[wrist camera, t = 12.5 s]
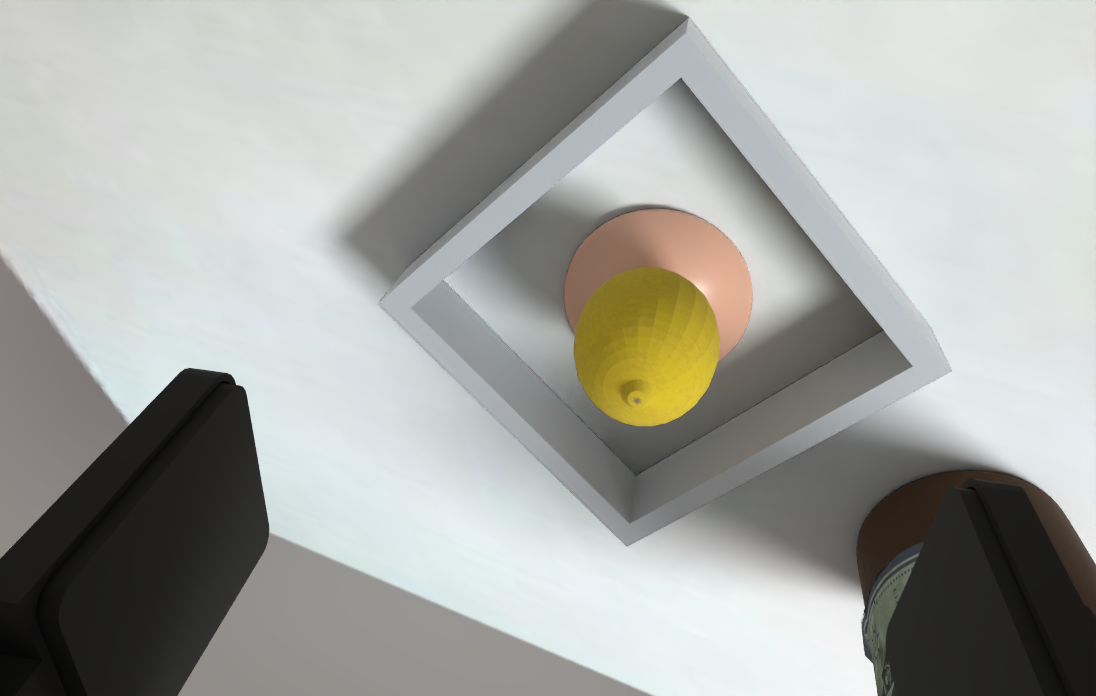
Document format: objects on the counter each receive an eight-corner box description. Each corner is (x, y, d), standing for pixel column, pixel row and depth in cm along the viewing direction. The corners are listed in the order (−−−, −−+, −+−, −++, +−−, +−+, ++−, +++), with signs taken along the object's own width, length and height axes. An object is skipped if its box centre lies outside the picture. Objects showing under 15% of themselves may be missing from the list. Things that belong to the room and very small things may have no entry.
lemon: (565, 307, 35) (528, 407, 29) (640, 212, 33) (620, 298, 26) (665, 376, 36) (653, 490, 29) (747, 289, 34) (755, 392, 27)
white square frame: (405, 269, 36) (377, 303, 33) (689, 16, 29) (686, 32, 26) (633, 497, 41) (626, 546, 38) (930, 327, 33) (952, 371, 30)
